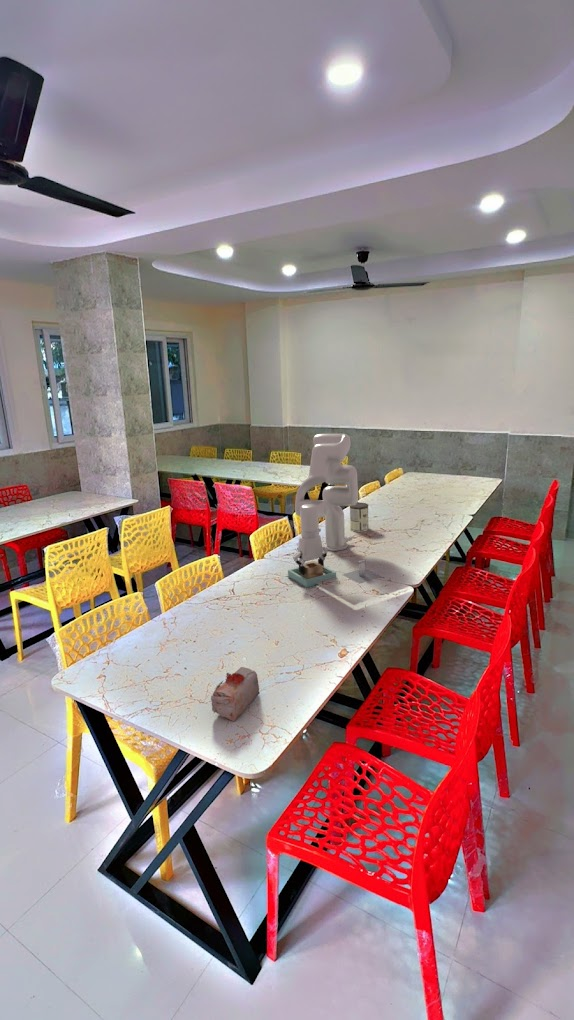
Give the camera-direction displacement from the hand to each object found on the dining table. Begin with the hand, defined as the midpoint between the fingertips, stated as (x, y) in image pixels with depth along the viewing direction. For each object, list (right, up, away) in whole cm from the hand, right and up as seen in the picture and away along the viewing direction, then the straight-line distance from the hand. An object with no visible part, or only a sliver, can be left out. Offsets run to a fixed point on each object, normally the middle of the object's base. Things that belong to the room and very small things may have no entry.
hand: (311, 571), depth 219 cm
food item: (-24, -27, -81) cm, 89 cm away
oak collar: (0, -3, +1) cm, 3 cm away
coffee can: (+30, +15, +66) cm, 74 cm away
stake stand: (+21, -3, -2) cm, 22 cm away
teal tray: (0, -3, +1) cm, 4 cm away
